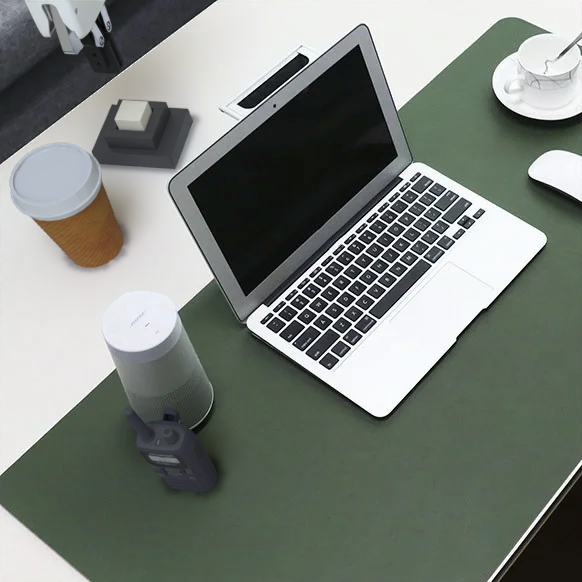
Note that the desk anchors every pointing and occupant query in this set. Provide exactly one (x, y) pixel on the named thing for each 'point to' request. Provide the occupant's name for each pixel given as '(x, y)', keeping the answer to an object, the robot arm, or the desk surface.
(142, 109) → the key
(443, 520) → the desk surface
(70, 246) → the disposable coffee cup
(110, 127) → the key block
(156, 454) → the two-way radio
